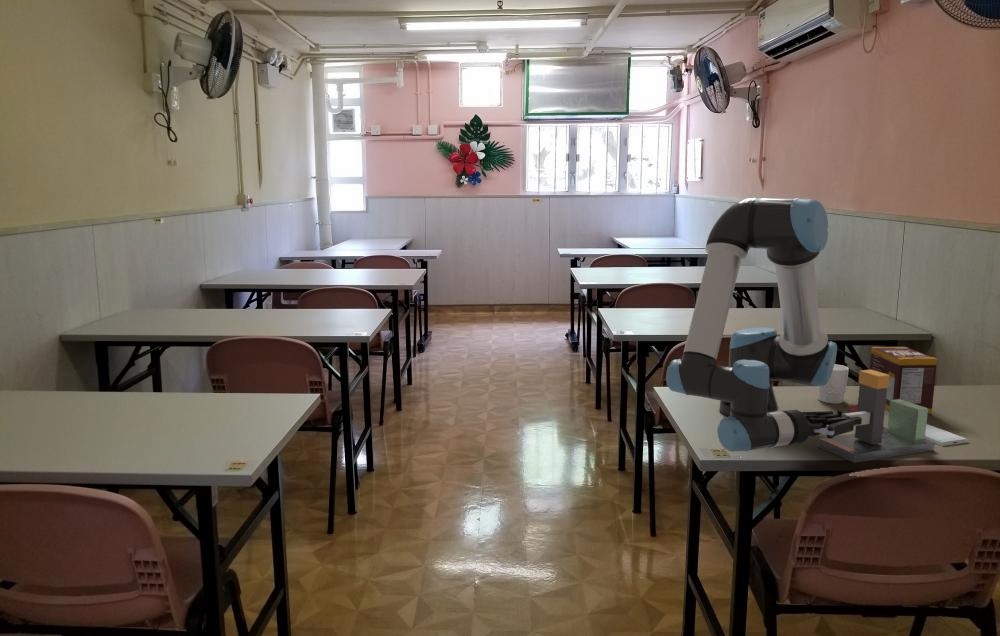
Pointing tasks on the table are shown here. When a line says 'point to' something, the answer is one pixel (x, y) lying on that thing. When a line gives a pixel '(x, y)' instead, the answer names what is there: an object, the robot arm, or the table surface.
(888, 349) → the supplement box
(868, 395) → the lever
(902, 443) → the grey base stand
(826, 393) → the white cup
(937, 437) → the hard drive
